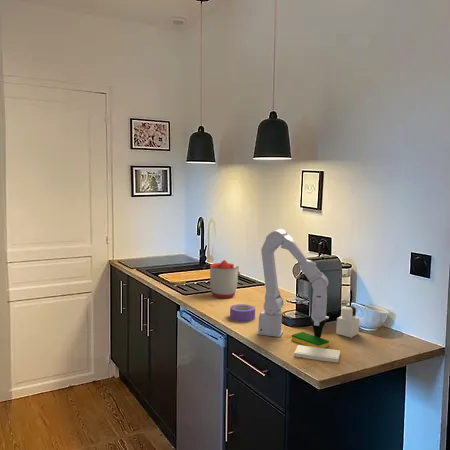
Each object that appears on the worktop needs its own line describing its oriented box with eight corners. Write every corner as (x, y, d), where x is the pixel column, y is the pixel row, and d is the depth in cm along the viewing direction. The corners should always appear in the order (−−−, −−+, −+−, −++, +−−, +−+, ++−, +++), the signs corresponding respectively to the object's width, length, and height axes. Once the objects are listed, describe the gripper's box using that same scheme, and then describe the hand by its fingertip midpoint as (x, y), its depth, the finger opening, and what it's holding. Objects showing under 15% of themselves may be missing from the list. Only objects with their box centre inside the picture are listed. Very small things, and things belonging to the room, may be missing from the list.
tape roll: (238, 323, 216) (238, 312, 216) (225, 316, 226) (225, 305, 226) (259, 319, 222) (260, 309, 222) (246, 313, 232) (246, 303, 232)
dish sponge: (318, 350, 185) (318, 344, 185) (291, 340, 195) (291, 334, 195) (329, 346, 190) (329, 340, 189) (302, 337, 200) (302, 331, 200)
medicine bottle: (343, 330, 210) (344, 303, 209) (358, 333, 206) (360, 306, 204) (335, 334, 205) (337, 306, 203) (351, 337, 200) (353, 309, 199)
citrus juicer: (245, 298, 260) (246, 261, 258) (216, 300, 253) (217, 263, 251) (232, 291, 274) (233, 256, 272) (204, 293, 267) (205, 258, 265)
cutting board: (294, 356, 177) (294, 352, 177) (297, 348, 186) (298, 344, 186) (338, 362, 173) (338, 358, 172) (340, 354, 181) (340, 350, 181)
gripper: (327, 311, 186) (325, 344, 188) (331, 302, 200) (329, 333, 202) (309, 309, 188) (307, 342, 190) (314, 300, 202) (312, 331, 204)
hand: (317, 337), depth 196 cm, fingers closed
